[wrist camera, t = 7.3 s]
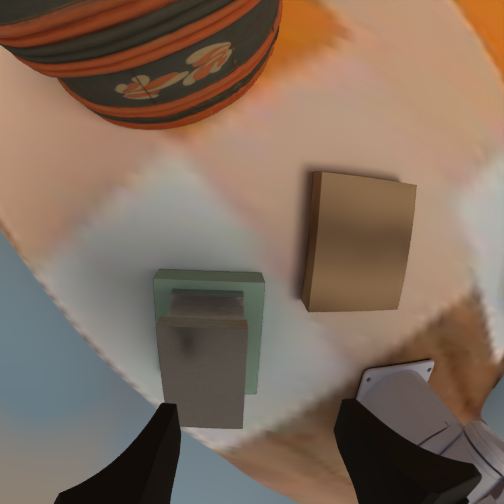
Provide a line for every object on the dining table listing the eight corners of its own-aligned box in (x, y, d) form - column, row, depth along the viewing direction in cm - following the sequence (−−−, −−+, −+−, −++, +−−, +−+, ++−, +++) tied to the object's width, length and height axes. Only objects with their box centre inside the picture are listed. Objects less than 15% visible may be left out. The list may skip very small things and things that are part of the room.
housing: (239, 379, 21) (242, 428, 16) (178, 377, 20) (168, 425, 15) (243, 291, 19) (248, 329, 14) (173, 288, 18) (155, 325, 14)
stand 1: (254, 378, 23) (256, 394, 21) (167, 375, 22) (163, 390, 20) (261, 272, 21) (265, 282, 19) (159, 269, 20) (153, 278, 18)
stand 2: (385, 299, 22) (397, 309, 20) (301, 300, 21) (308, 312, 20) (402, 183, 20) (416, 185, 18) (313, 172, 19) (322, 171, 17)
